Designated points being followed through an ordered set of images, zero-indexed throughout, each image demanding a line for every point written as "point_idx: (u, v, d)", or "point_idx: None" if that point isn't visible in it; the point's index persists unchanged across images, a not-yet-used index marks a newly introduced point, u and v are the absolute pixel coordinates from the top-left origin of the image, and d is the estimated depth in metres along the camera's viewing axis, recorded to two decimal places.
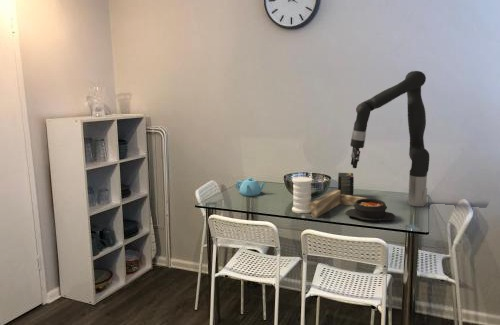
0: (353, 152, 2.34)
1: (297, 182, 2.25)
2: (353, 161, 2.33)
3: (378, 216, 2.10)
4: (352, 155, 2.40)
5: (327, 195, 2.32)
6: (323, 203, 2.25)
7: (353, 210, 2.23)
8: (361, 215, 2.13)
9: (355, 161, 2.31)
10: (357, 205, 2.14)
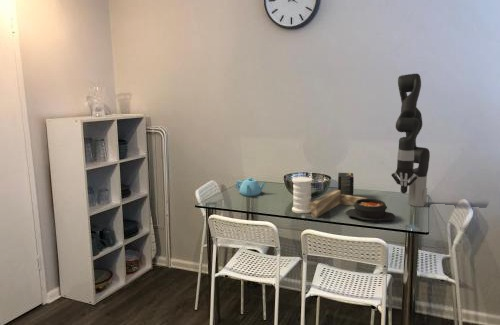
0: (407, 176, 2.01)
1: (297, 182, 2.25)
2: (403, 186, 2.03)
3: (378, 216, 2.10)
4: (402, 180, 2.03)
5: (327, 195, 2.32)
6: (323, 203, 2.25)
7: (353, 210, 2.23)
8: (361, 215, 2.13)
9: (407, 185, 2.03)
10: (357, 205, 2.14)
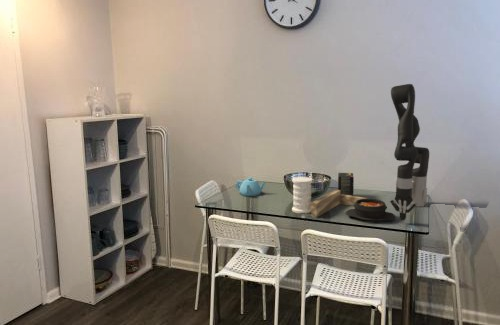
0: (406, 203, 2.03)
1: (297, 182, 2.25)
2: (402, 213, 2.06)
3: (378, 216, 2.10)
4: (401, 207, 2.06)
5: (327, 195, 2.32)
6: (323, 203, 2.25)
7: (353, 210, 2.23)
8: (361, 215, 2.13)
9: (406, 212, 2.05)
10: (357, 205, 2.14)
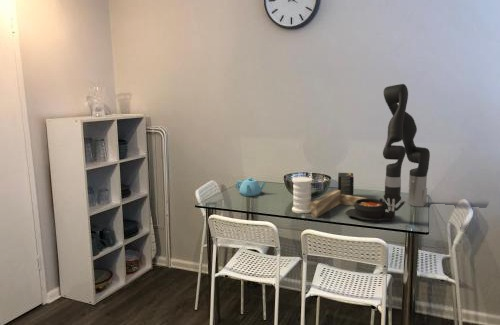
0: (394, 202, 2.07)
1: (297, 182, 2.25)
2: (391, 211, 2.09)
3: (378, 216, 2.10)
4: (390, 205, 2.09)
5: (327, 195, 2.32)
6: (323, 203, 2.25)
7: (353, 210, 2.24)
8: (361, 215, 2.13)
9: (395, 210, 2.09)
10: (357, 205, 2.14)
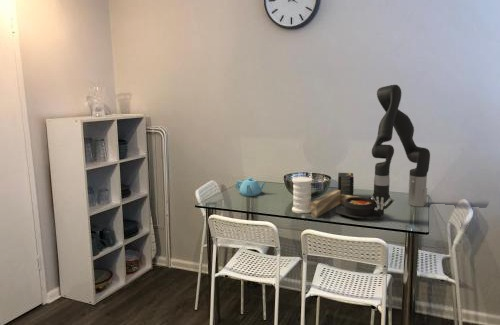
0: (383, 200, 2.10)
1: (297, 182, 2.25)
2: (380, 209, 2.12)
3: (367, 214, 2.14)
4: (379, 204, 2.12)
5: (327, 195, 2.32)
6: (323, 203, 2.25)
7: (343, 208, 2.27)
8: (350, 213, 2.16)
9: (384, 208, 2.12)
10: (347, 203, 2.17)
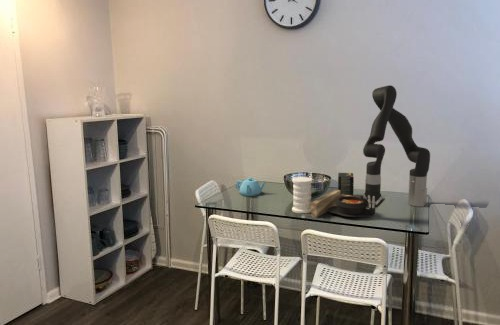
0: (374, 199, 2.13)
1: (297, 182, 2.25)
2: (371, 208, 2.15)
3: (359, 213, 2.16)
4: (370, 202, 2.15)
5: (327, 195, 2.32)
6: (323, 203, 2.25)
7: (335, 207, 2.29)
8: (343, 212, 2.18)
9: (375, 207, 2.15)
10: (339, 202, 2.20)
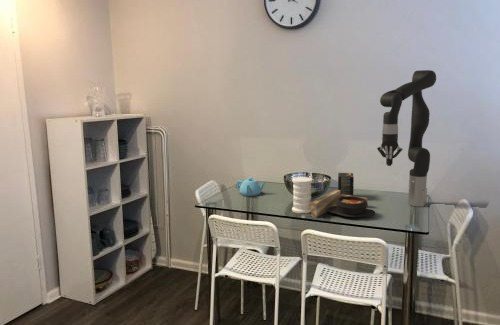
0: (392, 149, 2.11)
1: (297, 182, 2.25)
2: (389, 159, 2.13)
3: (359, 213, 2.16)
4: (388, 153, 2.13)
5: (327, 195, 2.32)
6: (323, 203, 2.25)
7: (335, 207, 2.29)
8: (342, 212, 2.18)
9: (392, 158, 2.13)
10: (339, 202, 2.20)
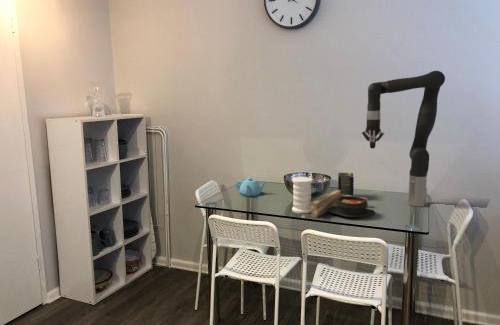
0: (374, 133, 2.35)
1: (297, 182, 2.25)
2: (372, 142, 2.38)
3: (359, 213, 2.16)
4: (371, 137, 2.37)
5: (327, 195, 2.32)
6: (323, 203, 2.25)
7: (335, 207, 2.29)
8: (342, 212, 2.18)
9: (375, 141, 2.37)
10: (339, 202, 2.20)
